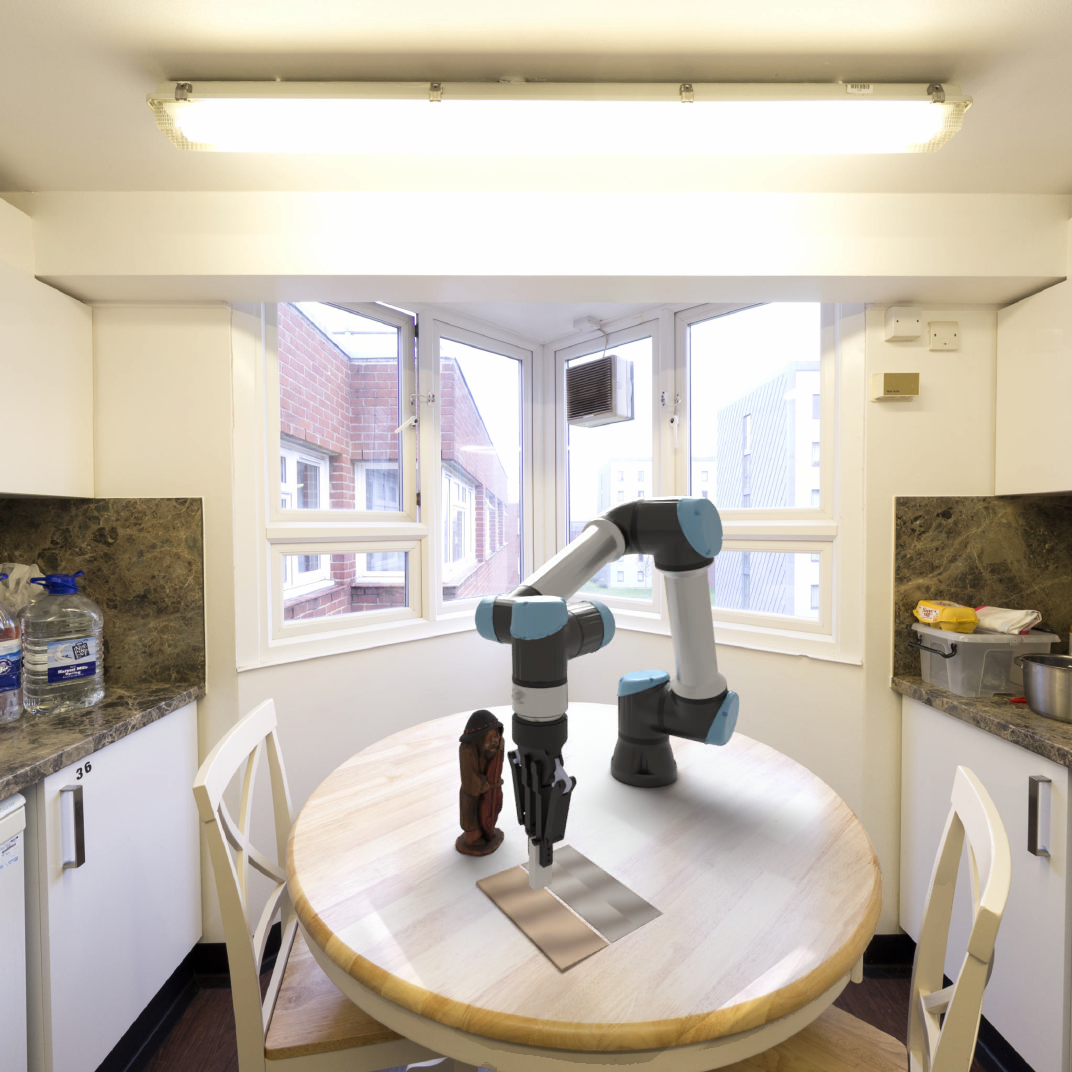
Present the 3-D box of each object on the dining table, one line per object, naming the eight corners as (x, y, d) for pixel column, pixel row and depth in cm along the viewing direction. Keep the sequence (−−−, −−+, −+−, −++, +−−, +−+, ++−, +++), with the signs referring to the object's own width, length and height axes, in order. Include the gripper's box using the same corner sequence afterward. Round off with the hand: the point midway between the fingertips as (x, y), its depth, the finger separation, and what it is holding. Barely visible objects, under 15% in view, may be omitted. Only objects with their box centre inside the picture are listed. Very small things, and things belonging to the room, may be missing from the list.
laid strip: (521, 872, 97) (521, 864, 97) (568, 852, 102) (568, 844, 102) (612, 953, 79) (612, 942, 79) (663, 923, 85) (663, 913, 84)
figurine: (481, 871, 97) (480, 723, 97) (445, 857, 101) (443, 715, 101) (515, 842, 106) (514, 706, 105) (479, 830, 110) (478, 699, 109)
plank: (475, 890, 92) (475, 881, 92) (518, 874, 96) (518, 865, 96) (561, 980, 74) (561, 969, 74) (608, 955, 78) (608, 944, 78)
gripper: (490, 705, 81) (491, 870, 82) (545, 732, 71) (546, 922, 71) (534, 695, 86) (535, 852, 86) (592, 720, 75) (593, 899, 76)
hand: (540, 884), depth 79 cm, fingers closed
